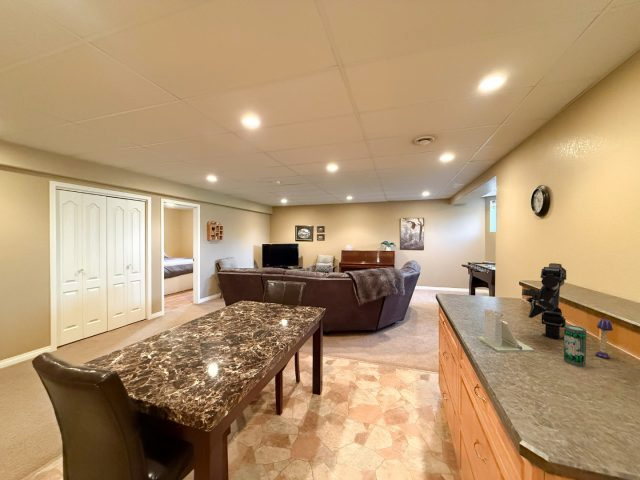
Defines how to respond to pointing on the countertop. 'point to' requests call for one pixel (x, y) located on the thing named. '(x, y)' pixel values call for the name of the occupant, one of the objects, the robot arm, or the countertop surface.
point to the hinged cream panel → (508, 334)
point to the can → (575, 345)
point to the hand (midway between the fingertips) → (529, 317)
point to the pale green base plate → (507, 346)
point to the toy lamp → (604, 337)
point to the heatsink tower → (493, 327)
